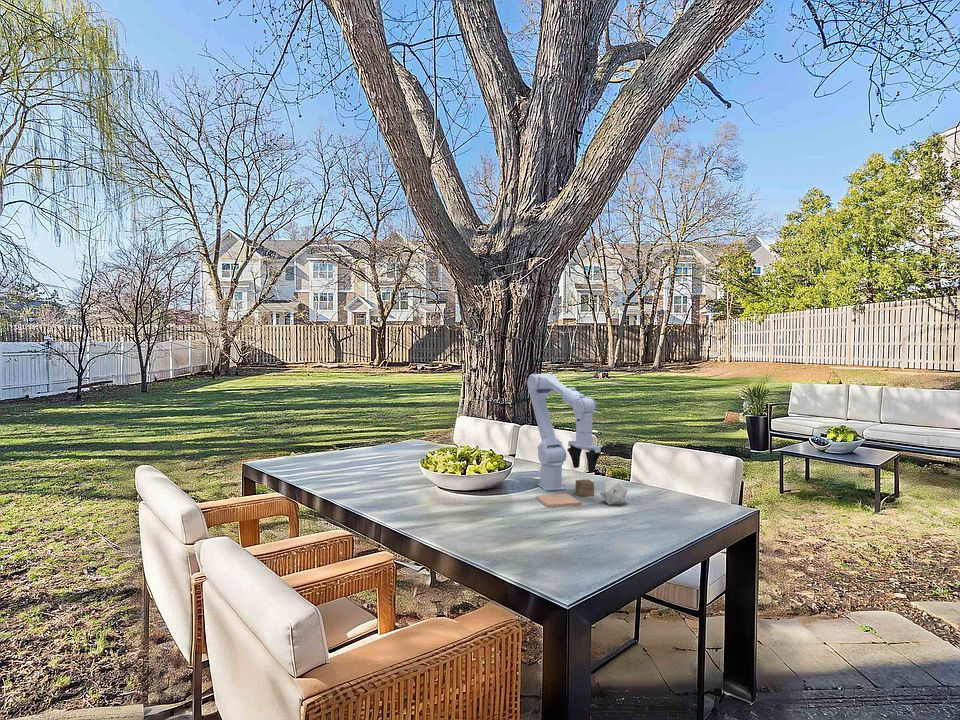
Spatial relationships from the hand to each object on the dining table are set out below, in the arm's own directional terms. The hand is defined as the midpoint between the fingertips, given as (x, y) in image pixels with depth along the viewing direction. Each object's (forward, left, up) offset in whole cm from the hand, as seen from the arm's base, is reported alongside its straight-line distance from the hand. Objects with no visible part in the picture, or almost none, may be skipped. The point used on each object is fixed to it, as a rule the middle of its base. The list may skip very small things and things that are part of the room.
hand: (583, 469), depth 206 cm
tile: (+3, -11, -10) cm, 15 cm away
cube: (-4, +2, -10) cm, 11 cm away
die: (+9, +7, -10) cm, 15 cm away
